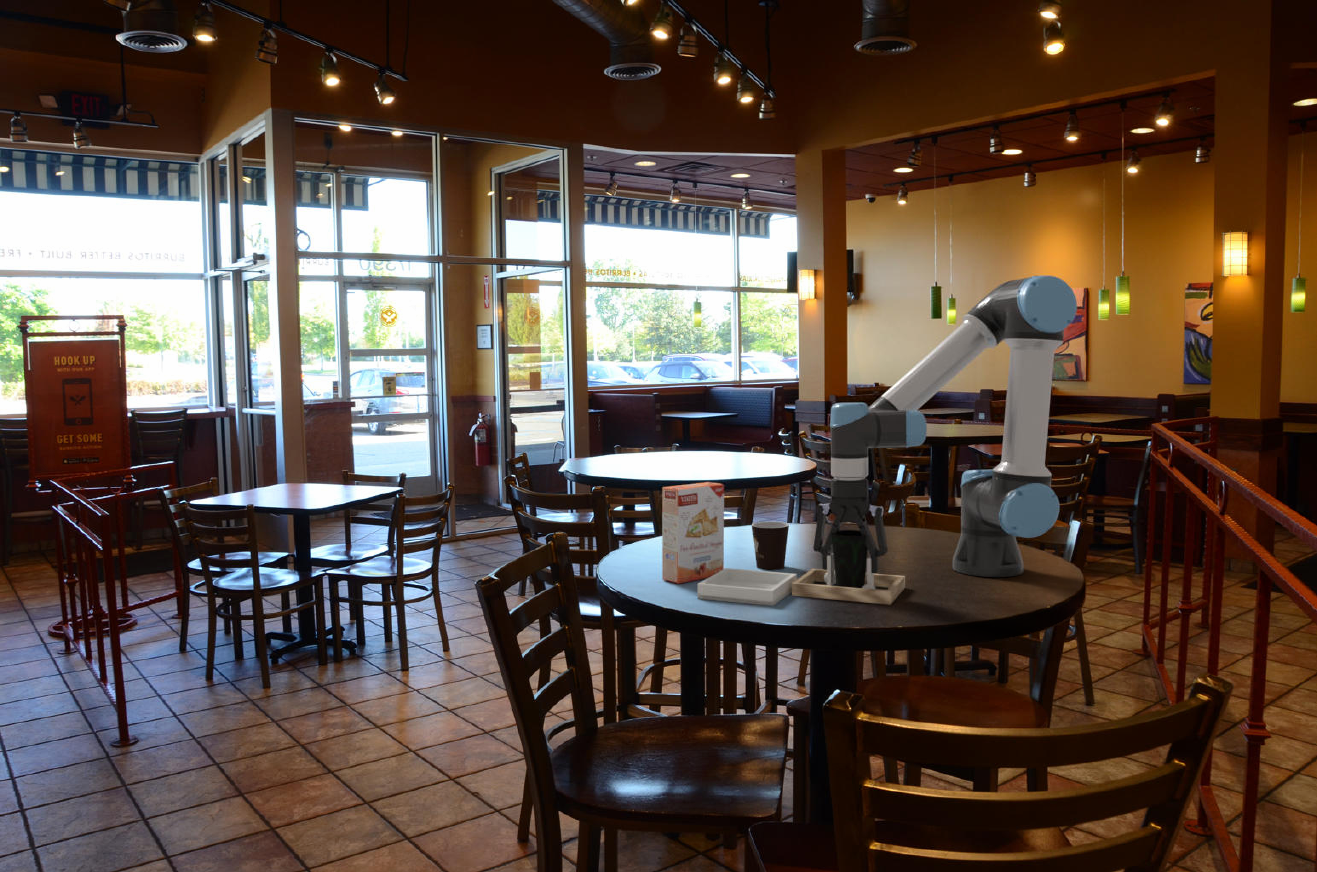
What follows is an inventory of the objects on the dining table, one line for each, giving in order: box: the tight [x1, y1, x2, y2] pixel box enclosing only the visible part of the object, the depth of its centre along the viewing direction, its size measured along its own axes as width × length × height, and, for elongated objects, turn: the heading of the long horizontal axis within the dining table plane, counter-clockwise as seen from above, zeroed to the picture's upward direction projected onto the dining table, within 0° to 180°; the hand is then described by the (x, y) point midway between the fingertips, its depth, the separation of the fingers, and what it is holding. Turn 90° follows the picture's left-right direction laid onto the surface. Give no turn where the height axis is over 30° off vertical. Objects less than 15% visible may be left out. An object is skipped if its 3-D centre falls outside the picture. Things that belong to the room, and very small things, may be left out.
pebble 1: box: [824, 572, 836, 585], centre depth 203 cm, size 3×3×3 cm
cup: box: [831, 529, 869, 588], centre depth 197 cm, size 8×8×12 cm
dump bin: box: [697, 567, 798, 607], centre depth 197 cm, size 16×16×3 cm
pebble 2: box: [862, 584, 877, 590], centre depth 191 cm, size 3×3×3 cm
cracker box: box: [661, 481, 725, 584], centre depth 212 cm, size 14×6×21 cm, turn 130°
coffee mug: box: [751, 521, 790, 571], centre depth 223 cm, size 12×9×10 cm
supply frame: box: [791, 568, 906, 606], centre depth 197 cm, size 20×15×2 cm
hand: (850, 586), depth 197 cm, fingers closed on cup, 8 cm apart
